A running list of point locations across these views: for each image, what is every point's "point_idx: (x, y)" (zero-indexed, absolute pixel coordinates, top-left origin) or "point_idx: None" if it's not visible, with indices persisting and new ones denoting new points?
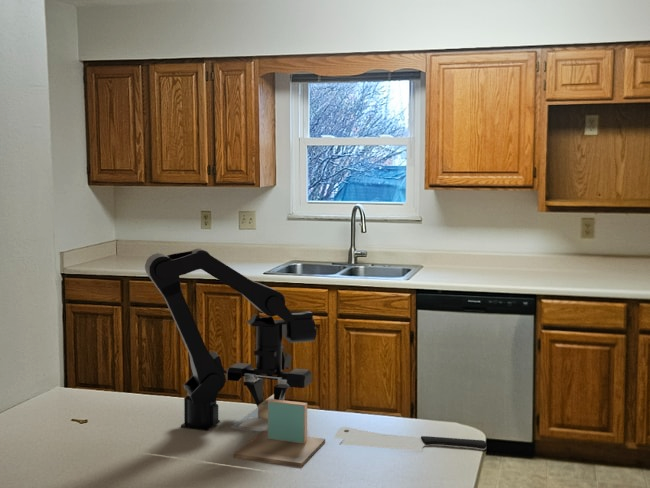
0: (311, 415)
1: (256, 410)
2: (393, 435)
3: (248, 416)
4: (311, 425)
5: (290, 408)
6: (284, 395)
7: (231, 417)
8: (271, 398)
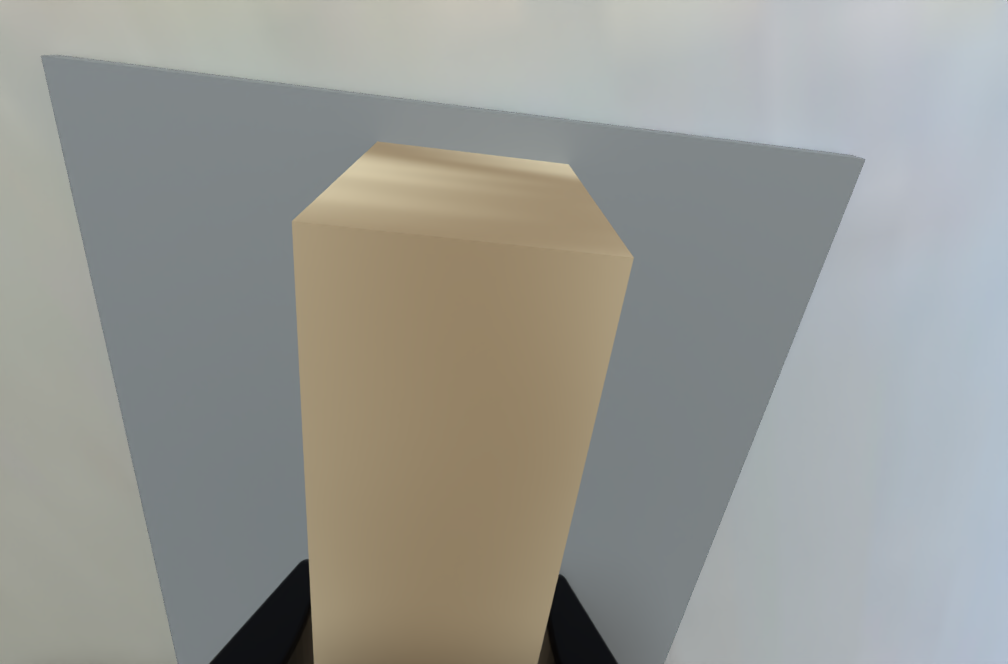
0: (1004, 306)
1: (153, 362)
2: None
3: (194, 576)
4: (943, 596)
5: None
6: (621, 260)
7: (7, 587)
8: (394, 627)
